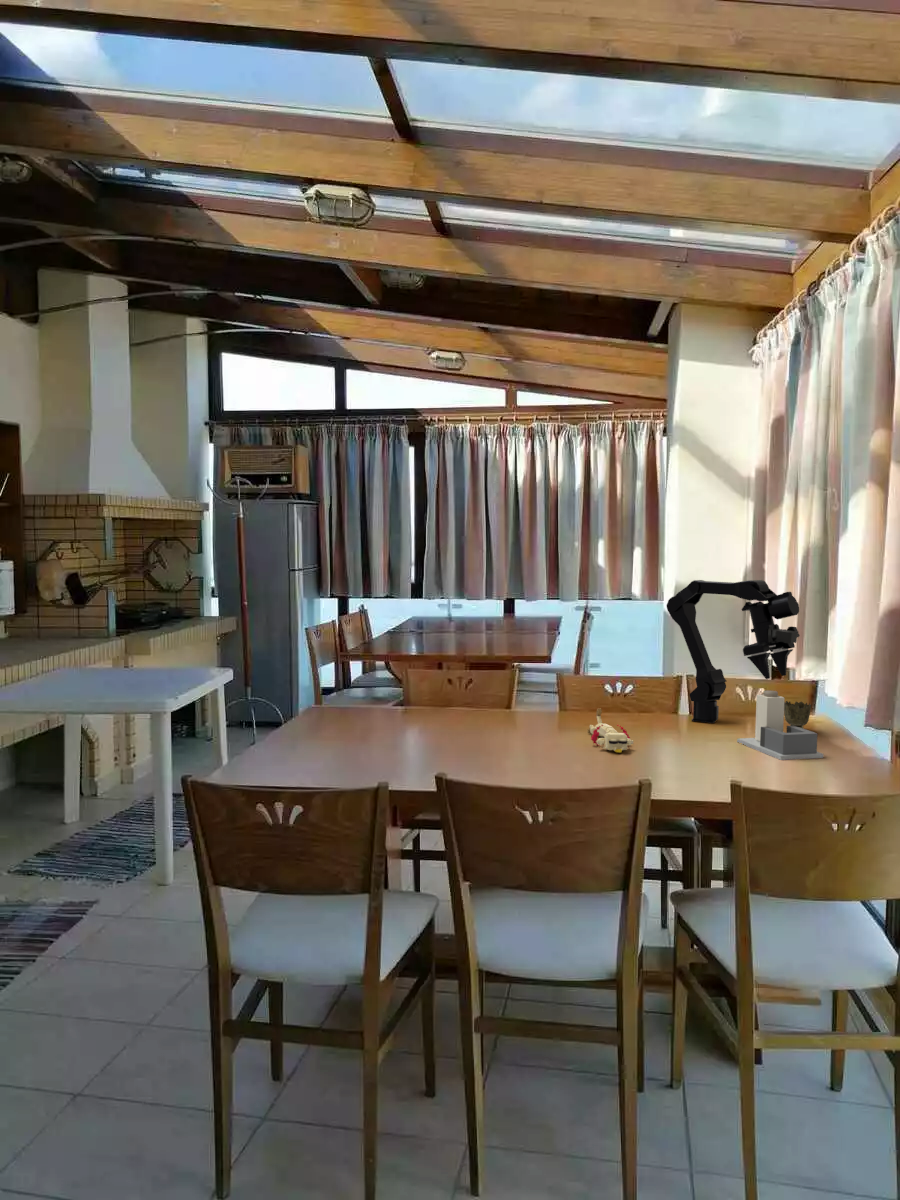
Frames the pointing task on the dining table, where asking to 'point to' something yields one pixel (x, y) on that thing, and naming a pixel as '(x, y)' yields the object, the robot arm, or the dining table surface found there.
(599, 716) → the cream blocky figure
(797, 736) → the socket
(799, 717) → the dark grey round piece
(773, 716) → the beige block
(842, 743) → the dining table surface
